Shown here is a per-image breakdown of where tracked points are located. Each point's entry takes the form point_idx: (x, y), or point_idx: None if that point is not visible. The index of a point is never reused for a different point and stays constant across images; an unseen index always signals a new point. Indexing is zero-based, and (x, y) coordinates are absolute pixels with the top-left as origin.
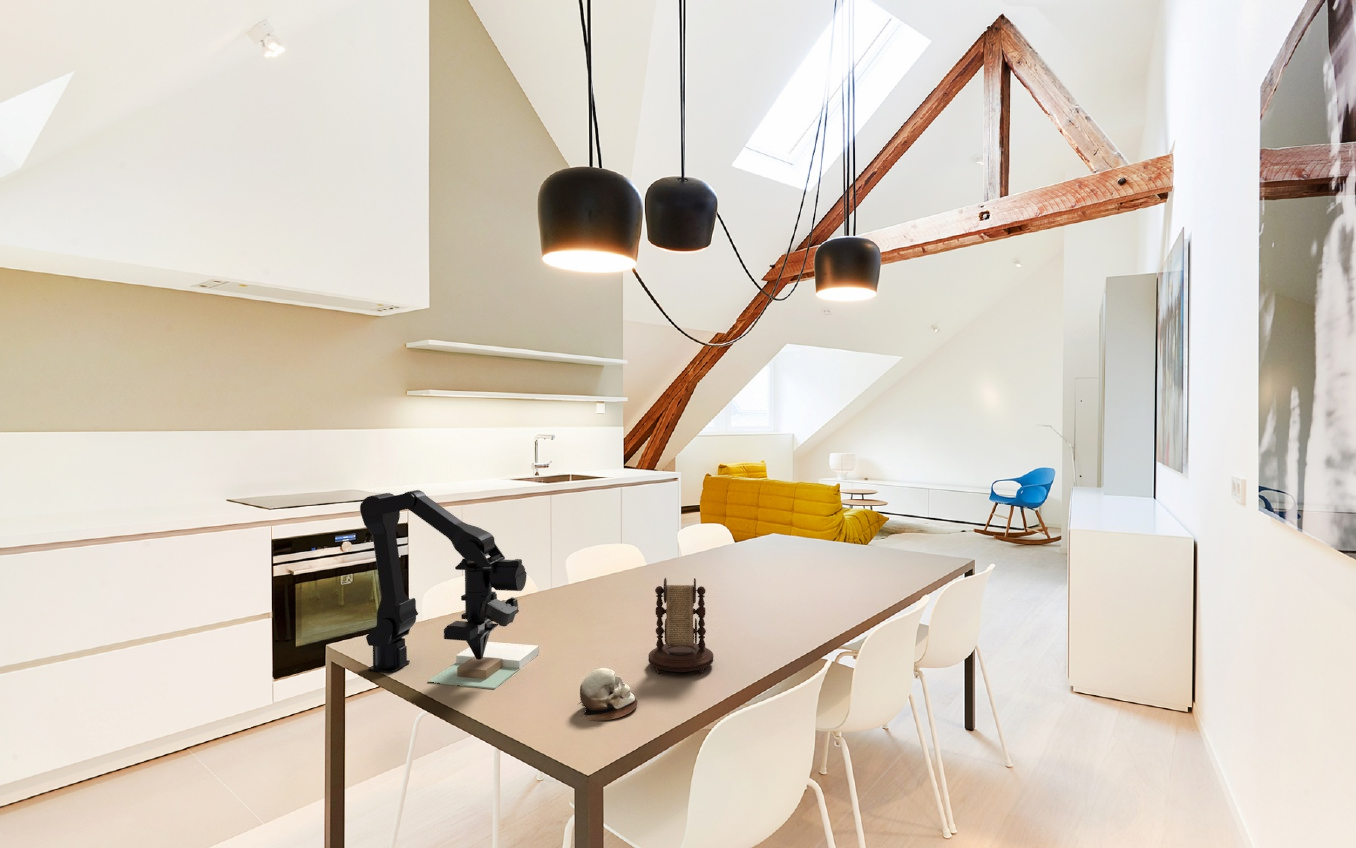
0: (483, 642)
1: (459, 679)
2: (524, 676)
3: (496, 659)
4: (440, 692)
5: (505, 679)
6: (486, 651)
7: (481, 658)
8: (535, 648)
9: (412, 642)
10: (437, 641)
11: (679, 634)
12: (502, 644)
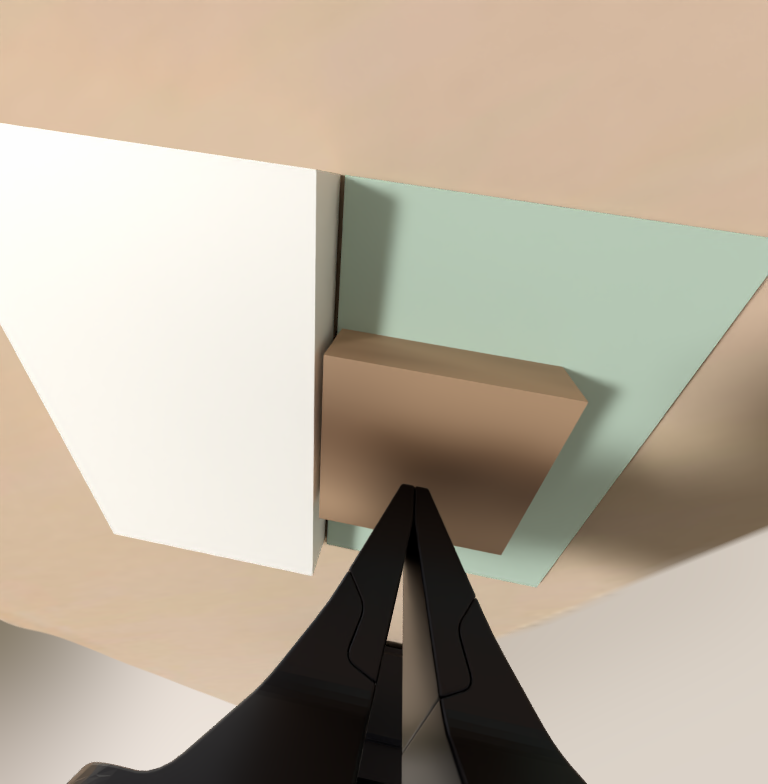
0: (392, 608)
1: (537, 496)
2: (499, 34)
3: (350, 391)
4: (679, 527)
5: (595, 213)
6: (217, 479)
7: (418, 488)
8: None
9: (195, 644)
10: (156, 607)
11: None
12: (79, 428)
